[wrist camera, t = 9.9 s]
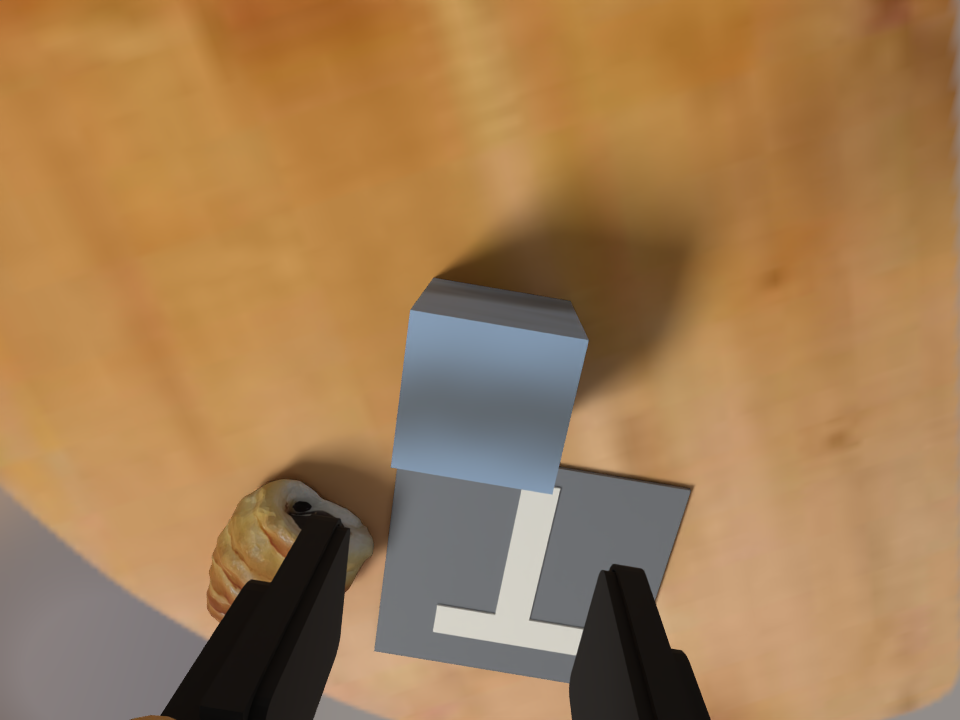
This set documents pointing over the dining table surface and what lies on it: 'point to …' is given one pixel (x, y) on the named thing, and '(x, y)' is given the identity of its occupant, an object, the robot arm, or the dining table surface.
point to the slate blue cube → (488, 385)
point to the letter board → (514, 565)
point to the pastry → (273, 539)
